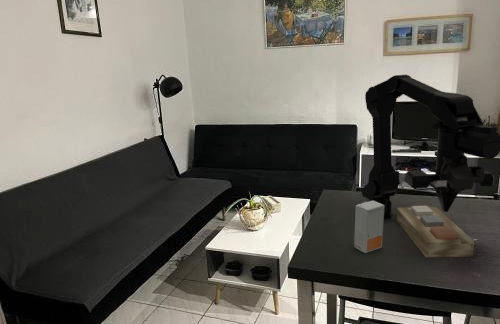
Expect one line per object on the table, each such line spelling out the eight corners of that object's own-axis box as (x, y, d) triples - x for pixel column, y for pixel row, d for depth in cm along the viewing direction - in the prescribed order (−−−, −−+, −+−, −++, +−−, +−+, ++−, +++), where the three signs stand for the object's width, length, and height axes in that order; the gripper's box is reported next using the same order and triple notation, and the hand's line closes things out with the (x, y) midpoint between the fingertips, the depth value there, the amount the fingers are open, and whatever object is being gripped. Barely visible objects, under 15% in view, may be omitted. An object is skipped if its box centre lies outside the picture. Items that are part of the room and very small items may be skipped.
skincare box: (365, 254, 95) (366, 210, 92) (353, 247, 99) (354, 204, 96) (383, 247, 98) (385, 204, 95) (370, 241, 102) (372, 199, 98)
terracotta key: (437, 242, 93) (438, 234, 92) (430, 234, 97) (430, 226, 97) (456, 242, 93) (456, 233, 92) (447, 234, 97) (448, 226, 96)
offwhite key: (416, 219, 106) (416, 211, 106) (410, 213, 111) (411, 206, 110) (432, 218, 106) (433, 211, 106) (426, 212, 110) (426, 205, 110)
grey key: (426, 230, 100) (426, 222, 99) (419, 223, 104) (420, 215, 103) (443, 229, 99) (444, 221, 99) (436, 222, 104) (437, 215, 103)
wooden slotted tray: (426, 257, 92) (427, 242, 91) (396, 220, 113) (397, 207, 112) (472, 256, 92) (474, 241, 91) (434, 219, 113) (435, 206, 112)
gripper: (423, 159, 82) (418, 226, 86) (513, 156, 81) (503, 224, 85) (405, 148, 93) (402, 207, 97) (484, 145, 91) (477, 205, 96)
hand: (445, 211), depth 93 cm, fingers closed
